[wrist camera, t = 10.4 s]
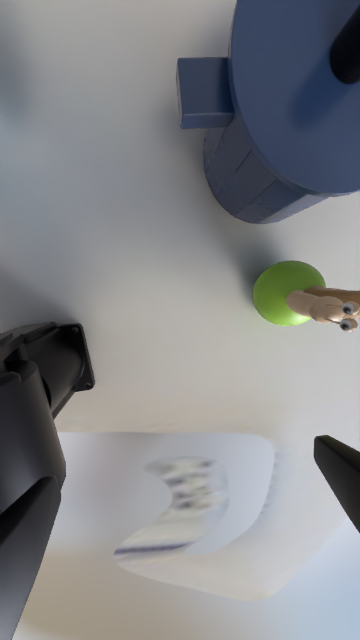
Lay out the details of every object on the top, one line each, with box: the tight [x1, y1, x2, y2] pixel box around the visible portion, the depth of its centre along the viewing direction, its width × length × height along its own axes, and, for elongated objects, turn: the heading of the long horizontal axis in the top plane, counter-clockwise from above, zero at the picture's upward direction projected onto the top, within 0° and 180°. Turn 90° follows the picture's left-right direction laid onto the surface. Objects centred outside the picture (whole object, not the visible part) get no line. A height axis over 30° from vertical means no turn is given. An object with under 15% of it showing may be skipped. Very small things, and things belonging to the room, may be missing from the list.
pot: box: [176, 57, 328, 224], centre depth 13 cm, size 11×16×7 cm, turn 96°
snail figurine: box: [253, 261, 360, 332], centre depth 14 cm, size 5×6×12 cm
